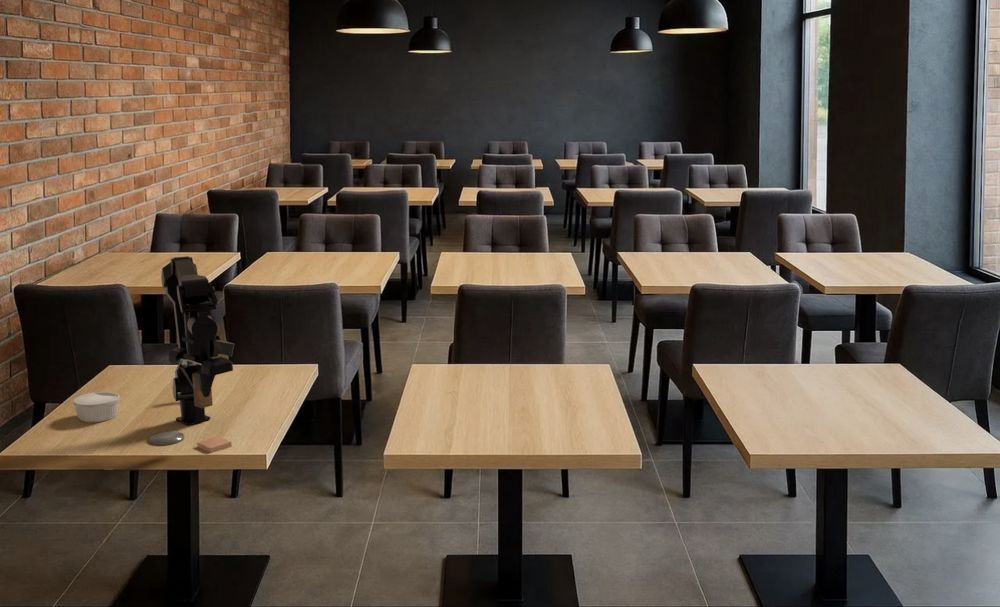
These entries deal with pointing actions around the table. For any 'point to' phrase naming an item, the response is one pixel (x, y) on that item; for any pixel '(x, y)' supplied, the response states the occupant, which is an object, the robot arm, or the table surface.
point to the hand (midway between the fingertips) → (202, 395)
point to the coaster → (166, 438)
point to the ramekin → (97, 406)
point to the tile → (214, 444)
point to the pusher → (200, 394)
